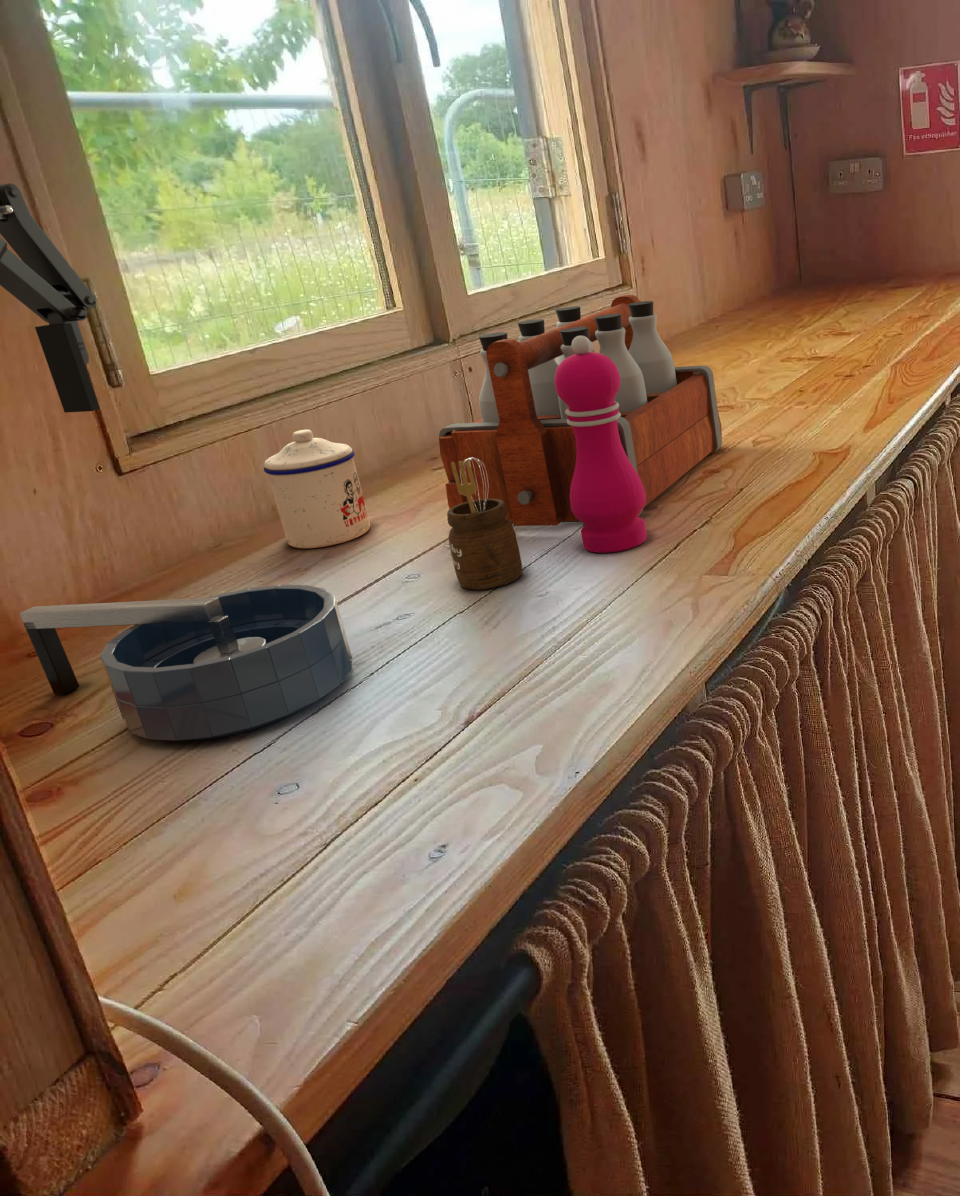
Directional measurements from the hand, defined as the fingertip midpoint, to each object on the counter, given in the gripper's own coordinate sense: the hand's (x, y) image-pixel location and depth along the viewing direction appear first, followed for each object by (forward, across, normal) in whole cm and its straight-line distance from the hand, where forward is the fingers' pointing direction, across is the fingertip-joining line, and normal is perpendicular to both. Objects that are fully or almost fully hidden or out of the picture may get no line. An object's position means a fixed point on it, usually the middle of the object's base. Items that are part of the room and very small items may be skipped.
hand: (3, 433), depth 80 cm
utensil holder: (+21, +24, -21) cm, 38 cm away
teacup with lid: (+21, +38, +7) cm, 44 cm away
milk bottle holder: (+21, +54, -18) cm, 61 cm away
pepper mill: (+21, +34, -29) cm, 49 cm away
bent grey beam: (+20, 0, -6) cm, 21 cm away
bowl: (+21, 0, -14) cm, 25 cm away
